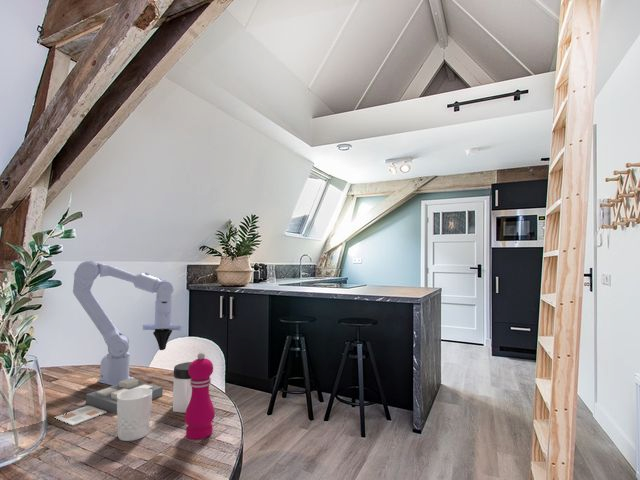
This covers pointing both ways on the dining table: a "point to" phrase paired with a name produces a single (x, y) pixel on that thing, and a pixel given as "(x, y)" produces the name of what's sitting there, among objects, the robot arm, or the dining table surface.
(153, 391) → the button board
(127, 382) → the button
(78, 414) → the card
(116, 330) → the robot arm
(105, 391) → the button
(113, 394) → the button
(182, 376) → the jar
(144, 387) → the button
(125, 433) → the white cup
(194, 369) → the pepper mill
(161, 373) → the dining table surface
